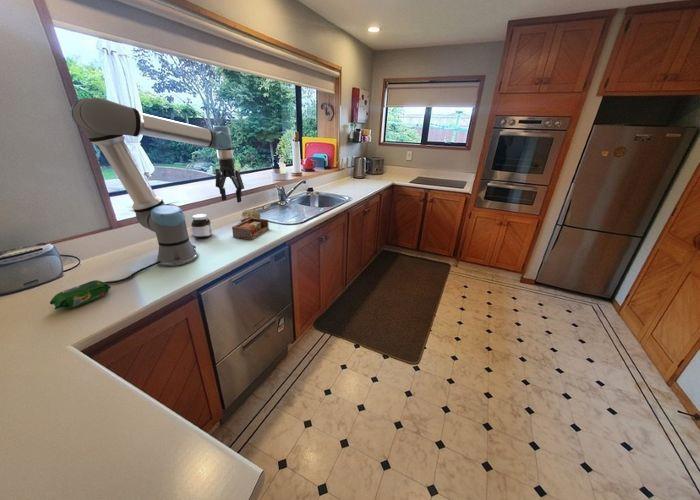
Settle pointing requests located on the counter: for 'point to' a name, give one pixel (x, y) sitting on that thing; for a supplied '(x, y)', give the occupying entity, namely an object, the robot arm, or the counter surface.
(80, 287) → the snack package
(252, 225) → the wooden box
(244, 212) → the sponge
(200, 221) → the spread jar
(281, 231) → the counter surface
